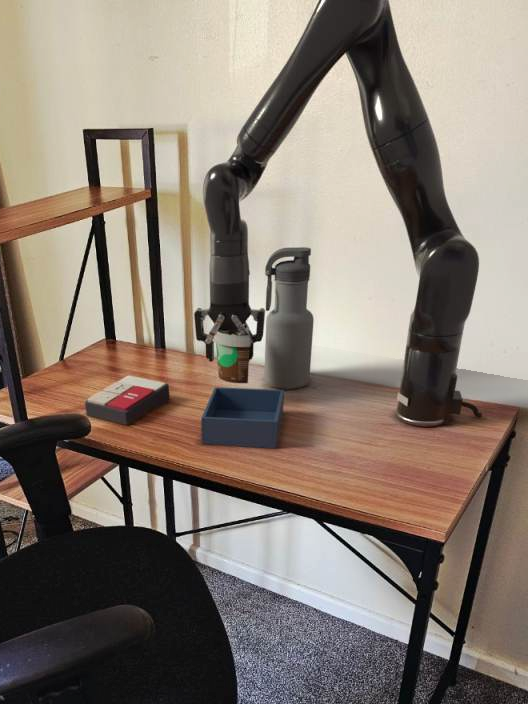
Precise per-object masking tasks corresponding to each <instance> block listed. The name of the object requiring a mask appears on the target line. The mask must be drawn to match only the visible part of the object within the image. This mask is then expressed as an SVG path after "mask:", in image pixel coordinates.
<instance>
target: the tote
mask: <svg viewBox="0 0 528 704" xmlns="http://www.w3.org/2000/svg"><path fill="white" fill-rule="evenodd" d="M284 399H285V389H268V388H245V387H244V388H243V387H242V388H241V387H219V386H218V387H216V386H215V387H213V390H212V392H211V395H210V397H209V400H208V402H207V404H206V406H205V409H204V411H203V413H202V415H201V418H200V420H201V421H200V425H201V426H200V427H201V429H200V430H201V432H200V433H201V445H211V446H226V447H227V446H229V447H230V446H231V447H244V448H245V447H247V448H262V449H277V447H278V441H279V438H280V437H279V436H280V431H281V426H282V420H283V416H284V402H285V401H284Z"/></svg>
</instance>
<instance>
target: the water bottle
mask: <svg viewBox="0 0 528 704" xmlns="http://www.w3.org/2000/svg"><path fill="white" fill-rule="evenodd" d="M311 255H312V248H311V247H305V246H304V247H303V246H302V247H301V246H299V247H282V248H279V249H277V250H275V251H274V252H273V253H272V254H271V255H270V256H269V258H268V260H267V263H266V265H265V269H264V271H265V272H264V275H265V276H266V277H267V280H266V282H267V283H266V284H267V285H266V292H265V312H268V314H267V316H266V318H265V319H266V320H265V345H264V347H265V349H264V373H263V374H264V376H263V380H264V382H265V384H266V385H267V386H269V387H272V388H274V389H276V390H295V389H300V388H302V387H305V386H306V385H307V384H309V382H310V378H311V377H310V375H311V365H312V364H311V362H312V349H313V334H314V333H313V332H314V321H315V319H314V314H313V313H312V312H311V310H309V309H307V307H308V306H307V305H308V304H307V303H308V293H309V292H308V289H309V281H310V280H311V279H310V278H311V264H310V256H311ZM283 258H293V259H288V260H282V261H280V262H278V263H276V264H275V262H277V261H278V260H280V259H283ZM274 264H275V266H274V267H273V265H274ZM273 276H274V280H273V281H274V282H275V288H274V308H273V309H272V310H270V309H271V306H272V297H273V296H272V295H273V294H272V292H273V281H272V277H273Z"/></svg>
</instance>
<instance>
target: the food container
mask: <svg viewBox="0 0 528 704" xmlns="http://www.w3.org/2000/svg"><path fill="white" fill-rule="evenodd" d="M213 341H214V343H215V348H216V360H217V374H218V378H219V379H220V380H222V382H223V381H224V382H227V383H232V384H248V383H249V369H250V367H249V365H250V361H249V347H250V335H248V336H246V335H241V333H240V332H239V330H237V331H231V330H226V331H221V330H220V329H218V331H217V333H216V334H215V335H214V338H213Z"/></svg>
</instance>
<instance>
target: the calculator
mask: <svg viewBox="0 0 528 704" xmlns="http://www.w3.org/2000/svg"><path fill="white" fill-rule="evenodd" d="M169 401H170V387H169V384H168V383H166V382H162V381H158V380H153V379H149V378H144V377H139V376H133V375H126V376H124V377H123V378H121V379H119V380H118V381H115V382H113V383H111V384H110V385H108V386H106V387H104V388H103V390H100V391H98V392H96V393H95V394H93V395H91V396H90V397H88V398H87V400H85V401H84V406H85V411H86V413H85V414H86V416H88V417H93V418H96V419H100V420H103V421H109V422H112V423H115V424H121V425H124V426H129V425H131V424H132V423H134V422H135V421H137V420H138V419H140V418H141V417H143V416H144V415H145V414H147V413H148V412H150V411H151V410H153V409H155V408H156V407H161V406H164V404H166V403H167V402H169Z"/></svg>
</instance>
